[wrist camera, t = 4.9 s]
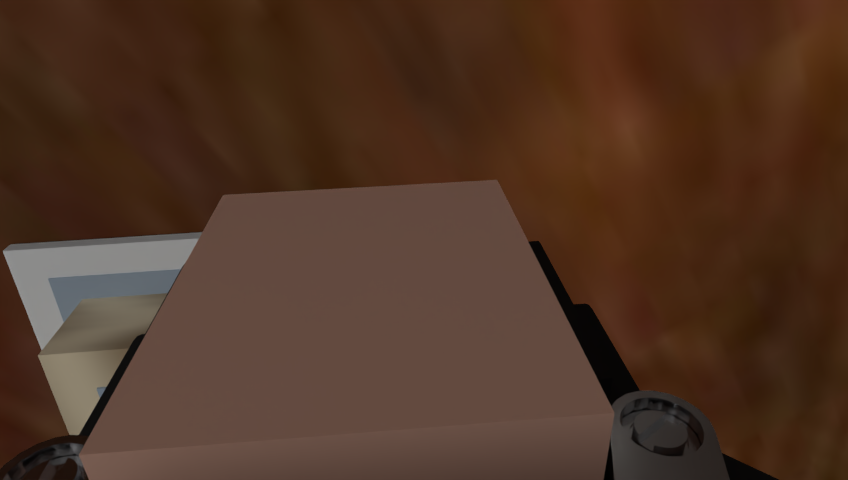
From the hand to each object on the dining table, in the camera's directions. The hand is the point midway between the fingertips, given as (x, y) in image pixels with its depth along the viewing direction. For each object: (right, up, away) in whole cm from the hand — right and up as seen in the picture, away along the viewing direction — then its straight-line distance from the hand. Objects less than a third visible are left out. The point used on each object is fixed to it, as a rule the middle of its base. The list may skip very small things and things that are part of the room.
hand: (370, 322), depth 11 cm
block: (0, 0, +1) cm, 1 cm away
